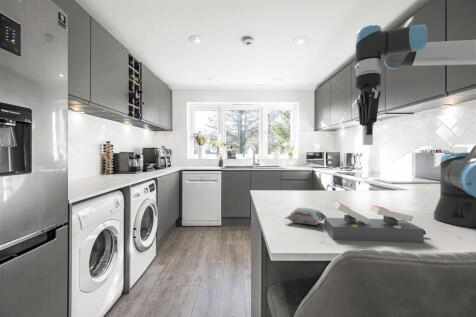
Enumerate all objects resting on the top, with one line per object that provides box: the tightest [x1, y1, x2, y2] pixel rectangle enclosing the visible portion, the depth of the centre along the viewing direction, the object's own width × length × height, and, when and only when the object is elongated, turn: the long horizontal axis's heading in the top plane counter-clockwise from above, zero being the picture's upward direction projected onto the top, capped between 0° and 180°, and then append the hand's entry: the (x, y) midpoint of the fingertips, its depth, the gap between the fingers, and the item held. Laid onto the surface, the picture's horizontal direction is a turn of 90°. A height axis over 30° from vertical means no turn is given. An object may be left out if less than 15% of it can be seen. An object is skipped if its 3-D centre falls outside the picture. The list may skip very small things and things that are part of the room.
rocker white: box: [370, 204, 414, 223], centre depth 67 cm, size 9×4×2 cm, turn 83°
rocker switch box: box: [323, 214, 427, 243], centre depth 67 cm, size 26×9×5 cm, turn 83°
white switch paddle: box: [332, 201, 371, 224], centre depth 68 cm, size 9×4×2 cm, turn 84°
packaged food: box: [284, 207, 327, 226], centre depth 80 cm, size 9×12×5 cm
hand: (367, 144), depth 80 cm, fingers closed
